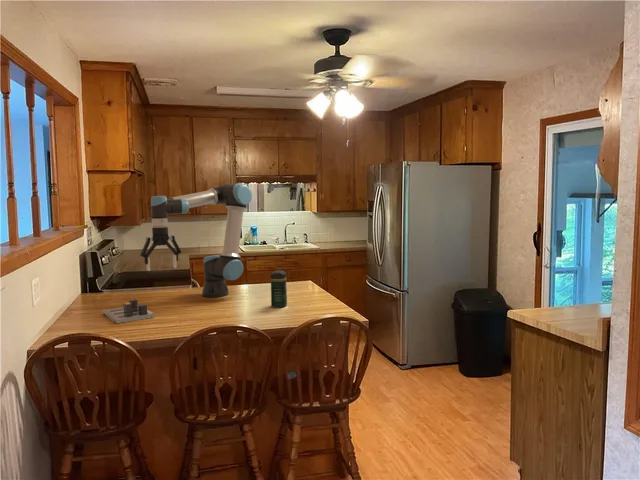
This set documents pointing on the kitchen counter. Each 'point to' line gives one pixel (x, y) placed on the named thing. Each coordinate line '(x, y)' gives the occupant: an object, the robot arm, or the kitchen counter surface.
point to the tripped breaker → (127, 307)
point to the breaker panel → (136, 314)
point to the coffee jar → (278, 289)
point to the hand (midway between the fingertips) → (162, 269)
